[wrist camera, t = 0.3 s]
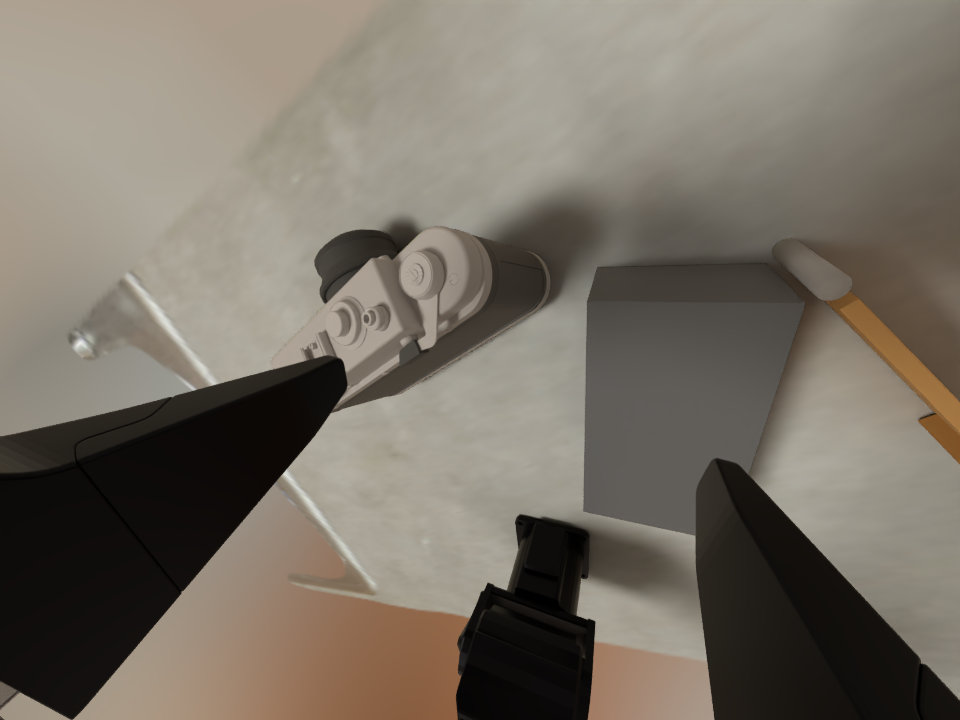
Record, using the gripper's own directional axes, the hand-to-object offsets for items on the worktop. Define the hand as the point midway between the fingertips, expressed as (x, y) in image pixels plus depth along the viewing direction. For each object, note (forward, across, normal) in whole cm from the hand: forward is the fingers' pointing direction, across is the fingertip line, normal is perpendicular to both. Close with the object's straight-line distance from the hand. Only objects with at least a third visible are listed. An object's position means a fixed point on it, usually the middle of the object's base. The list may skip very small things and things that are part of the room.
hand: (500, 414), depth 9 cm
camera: (+14, +10, +3) cm, 18 cm away
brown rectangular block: (+14, -14, +2) cm, 20 cm away
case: (+14, -6, +6) cm, 17 cm away
